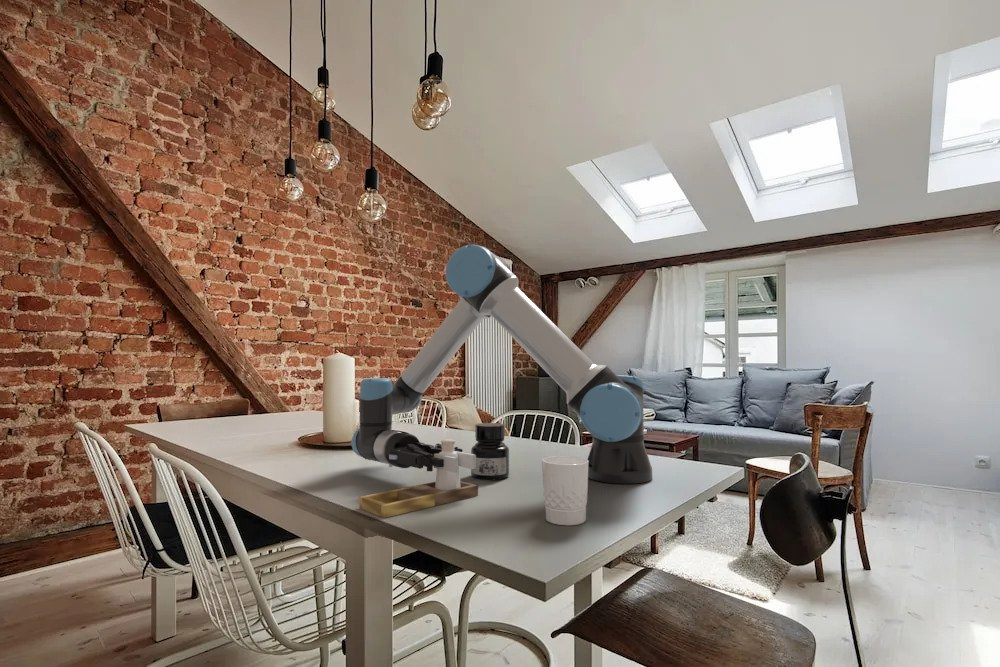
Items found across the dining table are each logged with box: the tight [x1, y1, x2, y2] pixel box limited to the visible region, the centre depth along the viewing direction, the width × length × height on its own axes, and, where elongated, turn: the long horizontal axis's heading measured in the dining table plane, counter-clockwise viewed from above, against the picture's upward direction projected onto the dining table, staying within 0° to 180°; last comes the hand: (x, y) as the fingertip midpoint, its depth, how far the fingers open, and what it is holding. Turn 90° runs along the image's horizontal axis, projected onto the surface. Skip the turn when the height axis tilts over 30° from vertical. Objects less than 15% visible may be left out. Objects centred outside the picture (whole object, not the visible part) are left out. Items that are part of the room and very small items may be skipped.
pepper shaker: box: [435, 438, 461, 491], centre depth 106 cm, size 5×5×11 cm
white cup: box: [541, 455, 589, 526], centre depth 90 cm, size 8×8×10 cm
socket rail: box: [358, 480, 479, 519], centre depth 101 cm, size 22×8×2 cm, turn 134°
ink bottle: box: [470, 422, 510, 481], centre depth 123 cm, size 10×9×12 cm
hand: (465, 463), depth 102 cm, fingers closed on pepper shaker, 4 cm apart
